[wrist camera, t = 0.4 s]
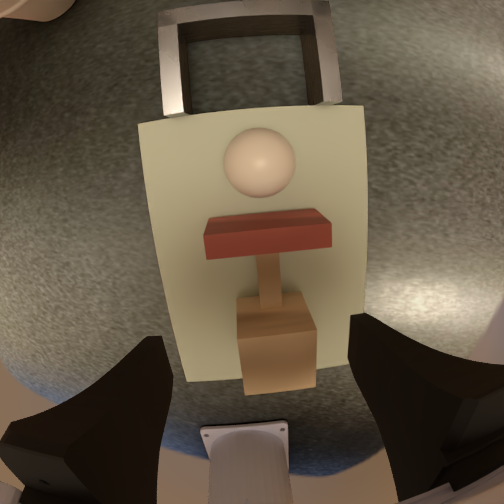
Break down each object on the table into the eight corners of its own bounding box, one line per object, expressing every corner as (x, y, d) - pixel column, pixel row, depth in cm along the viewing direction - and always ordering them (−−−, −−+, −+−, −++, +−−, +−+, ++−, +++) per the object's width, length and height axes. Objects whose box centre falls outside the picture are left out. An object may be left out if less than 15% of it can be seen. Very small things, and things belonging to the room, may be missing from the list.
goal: (324, 107, 18) (342, 101, 15) (176, 119, 18) (164, 115, 14) (313, 21, 16) (328, 1, 13) (169, 31, 16) (157, 12, 12)
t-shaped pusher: (316, 341, 21) (332, 383, 17) (228, 351, 21) (227, 396, 17) (314, 208, 18) (338, 228, 14) (208, 218, 18) (200, 242, 14)
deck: (352, 350, 24) (358, 361, 22) (189, 369, 24) (187, 381, 22) (354, 108, 18) (363, 105, 17) (144, 125, 18) (137, 124, 16)
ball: (291, 189, 18) (304, 200, 15) (228, 195, 18) (226, 207, 15) (286, 127, 17) (299, 123, 13) (221, 132, 17) (218, 129, 13)
